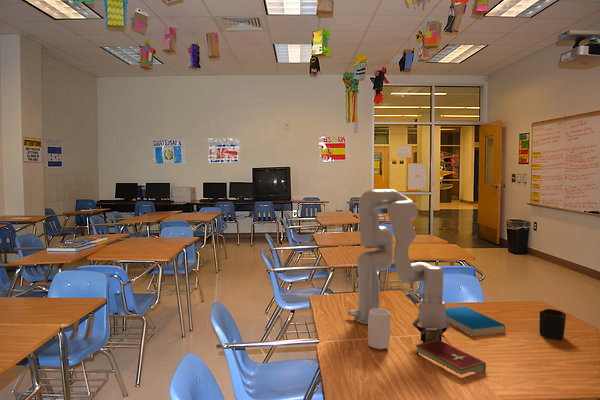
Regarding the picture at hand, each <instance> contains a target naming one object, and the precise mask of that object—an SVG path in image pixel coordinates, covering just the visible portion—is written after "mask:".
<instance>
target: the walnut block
mask: <svg viewBox="0 0 600 400" xmlns="http://www.w3.org/2000/svg"><path fill="white" fill-rule="evenodd" d="M439 334H440V332H439V331H438V329H437V328H426V330H425V335H426V338H425V343H426V342H430V341H434V340H439Z"/></svg>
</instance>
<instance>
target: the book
mask: <svg viewBox="0 0 600 400" xmlns="http://www.w3.org/2000/svg"><path fill="white" fill-rule="evenodd" d="M446 320H447V321H448V322H449V323H450V325H451V324H452V325H451V326H453V327H454V328H456V327H457V328H456V329H458V328H459V330H460V329H461V330H460V331H462V330H463V331H462V332H464V331H465V332H467V333H469V334H470V335H469V334H468V335H469V336H471V335H472V336H471V337H473V336H474V337H479V336H478V335H482V336H489V335H488V334H490V335H497V334H496V333H498V334H504V333H505V332H506V326H505V324H504V323H502V322H500V321H498V320H496V319H493V318H492V317H489V316H487V315H486V314H482V313H480V312H478V311H476V310H475V309H472V308H470V307H468V306H465V305H464V306H455V307H446ZM465 332H464V333H465ZM467 333H466V334H467Z"/></svg>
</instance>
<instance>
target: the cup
mask: <svg viewBox="0 0 600 400" xmlns="http://www.w3.org/2000/svg"><path fill="white" fill-rule="evenodd" d="M390 336H391V313H390V311H389V310H388V309H385V308H382V307H381V308H380V307H379V308H374V309H371V310H370V311H369V317H368V325H367V341H368V342H367V343H368V346H369V347H371V348H374V349H378V350H383V349H388V348H389V346H390Z"/></svg>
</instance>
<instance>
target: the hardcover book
mask: <svg viewBox="0 0 600 400" xmlns="http://www.w3.org/2000/svg"><path fill="white" fill-rule="evenodd" d="M415 347H416V353H417V352H418V353H420V354H422V355H424V356H426V357H428V358H430V359H432V360H434V361H436V362H438V363H440V364H442V365H443V366H446V367H447V368H449V369H451V370H453V371H455V372H456V373H459V374H461V375H462V374H465V373H468V372H475V373H478V374H481V373H486V370H487V363H486V362H485V361H484V360H481V359H480V358H478V357H475V356H474V355H471V354H470V353H468V352H465V351H462V350H461V349H458V348H457V347H454V346H453V345H450V344H449V343H447V342H444V341H440V340H434V341H430V342H426V343H423V342H421V343H418V344H415Z"/></svg>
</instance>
